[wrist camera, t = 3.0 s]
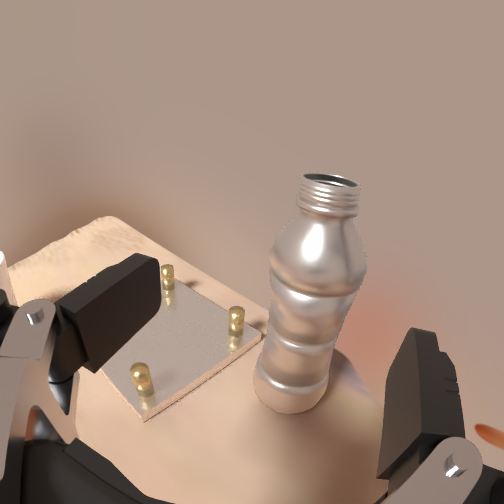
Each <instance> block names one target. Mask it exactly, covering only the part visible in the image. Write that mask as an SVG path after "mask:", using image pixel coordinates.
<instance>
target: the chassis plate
mask: <svg viewBox="0 0 504 504" xmlns="http://www.w3.org/2000/svg"><path fill="white" fill-rule="evenodd" d="M161 274H162V281H160V282H161V295H162V301H161V306H160V309H159V311H158V312H157V314H156V315H155V316H154V317H153V318H152V319H151V320H150V321H149V322H148V323H147V324H146V325H145V326H144V327H143V328H141V329H140V330H139V331H138V332H137V333H136V334H135V335H134V336H133V337H132V338H131V339H130V340H129V341H128V342H127V343H126V344H125V345H124V346H123V347H122V348H121V349H120V350H119V351H117V352H116V353H115V354H114V355H113V356H112V357H111V358H110V359H109V360H108V361H107V362H106V363H105V364H104V365H103V366H102V367H101V368H100V369H99V370H100V371H101V373H102V374H103V375H104V377H105V378H106V379H107V380H108V382H109V383H110V384H111V385H112V387H113V388H114V389H115V390H116V392H117V393H118V394H119V395H120V396H121V398H122V399H123V400H124V401H125V402H126V404H127V405H128V406H129V407H130V408H131V409H132V410H133V412H134V413H135V414H136V415H137V416H138V417H139V418H140V419H141V420H142V422H145V421H147V420H148V419H150V418H151V417H153V416H154V415H156V414H158V413H159V412H161V411H162V410H164V409H165V408H167V407H168V406H170V405H171V404H173V403H174V402H176V401H177V400H179V399H180V398H182V397H183V396H185V395H186V394H187V393H189V392H190V391H192V390H193V389H195V388H196V387H198V386H199V385H201V384H202V383H203V382H205V381H206V380H208V379H209V378H210V377H212V376H213V375H215V374H216V373H217V372H219V371H220V370H222V369H223V368H224V367H226V366H227V365H228V364H230V363H231V362H233V361H234V360H235V359H237V358H238V357H239V356H241V355H242V354H243V353H245V352H246V351H247V350H249V349H250V348H251V347H253V346H254V345H255V344H257V343H258V342H259V341H260V340H261V334H262V332H260V331H258V330H257V329H255V328H253V327H252V326H250V325H248V324H247V323H245V322H244V314H245V310H244V309H243V308H242V307H239V306H234V307H231V308H230V309H229V312H227V311H225V310H224V309H222V308H220V307H219V306H217V305H216V304H214V303H212V302H211V301H209V300H208V299H206V298H205V297H203V296H201V295H200V294H198V293H197V292H195V291H194V290H192V289H191V288H189V287H187V286H186V285H184V284H183V283H181V282H180V281H178V280H177V279H175V278H174V269H173V266H172V265H169V264H166V265H163V266H162V267H161Z"/></svg>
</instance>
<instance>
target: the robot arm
mask: <svg viewBox="0 0 504 504" xmlns="http://www.w3.org/2000/svg"><path fill="white" fill-rule="evenodd" d="M161 301H162V295H161V282H160V267H159V262H158V260H157V259H155V258H152V257H149V256H146V255H143V254H139V253H135V254H133V255H131V256H130V257H128V258H126V259H125V260H123V261H122V262H120V263H119V264H116V265H113V266H110V267H107V268H106V269H104V270H102V271H101V272H99V273H98V274H96V276H93V277H92V278H90V279H89V280H87V283H86V282H84V283H83V284H81V285H80V286H78V287H77V288H75V289H74V290H72V291H71V292H69V293H68V294H67V295H65V296H64V297H62V298H61V299H59V300H58V301H56V302H55V303H52V302H51V301H49V300H46V299H36V300H32V301H29V302H27V303H25V304H23V305H22V306H21V307H18V306H14V305H10V303H9V300H8V297H7V294H6V292H5V291H4V290H3V289H0V504H174V503H170V502H166V501H162V500H158V499H154V498H151V497H148V496H146V495H144V494H143V493H142V492H141V491H140V490H138V489H137V488H136V487H135V486H134V485H133V484H132V483H131V482H130V481H129V480H128V479H127V478H126V477H125V476H124V475H123V474H122V473H121V472H120V471H119V470H118V469H117V468H116V467H115V466H114V465H113V464H112V463H111V462H110V461H109V460H108V459H106V458H105V457H103V456H102V455H100V454H99V453H97V452H96V451H94V450H93V449H91V448H90V447H89V446H87V445H86V444H85V443H83V442H82V441H80V440H79V437H78V433H77V430H76V425H75V418H76V405H77V395H78V386H79V372H78V369H79V368H80V367H82V366H83V367H85V368H86V369H88V370H90V371H91V372H93V373H94V374H95V373H96V372H97V371H98V370H99V369H100V368H101V367H102V366H103V365H104V364H105V363H106V362H107V361H108V360H109V359H110V358H111V357H112V356H113V355H114V354H115V353H116V352H117V351H119V350H120V349H121V348H122V347H123V346H124V345H125V344H126V343H127V342H128V341H129V340H130V339H131V338H132V337H133V336H134V335H135V334H136V333H137V332H138V331H139V330H140V329H141V328H143V327H144V326H145V325H146V324H147V323H148V322H149V321H150V320H151V319H152V318H153V317H154V316H155V315H156V314H157V312H158V311H159V309H160V306H161ZM456 382H457V377H456V372H455V367H454V365H453V363H452V362H451V360H450V358H449V357H448V355H447V354H446V353H445V352H440V351H439V347H438V342H437V337H436V334H435V333H434V332H430V331H426V330H421V329H417V328H410V330H409V331H408V332H407V334H406V337H405V339H404V341H403V343H402V345H401V347H400V349H399V351H398V353H397V355H396V357H395V359H394V361H393V363H392V365H391V367H390V369H389V373H388V376H387V380H386V388H385V389H386V390H385V406H384V419H383V430H382V440H381V448H380V456H379V464H378V471H377V477H376V478H378V479H386V480H389V486H388V490H387V491H386V492H384V493H383V494H382V495H381V496H380V497H379V498H378V499H377V500H375V501H374V502H373V503H372V504H504V472H502V471H500V470H497V469H494V468H491V467H488V466H486V465H484V464H483V462H482V457H481V454H480V452H479V450H478V449H477V448H476V446H475V445H474V444H473V443H472V442H470V441H469V440H467V439H465V430H464V421H463V413H462V407H461V399H460V395H458V393H459V387H458V383H456Z"/></svg>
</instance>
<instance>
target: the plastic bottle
mask: <svg viewBox="0 0 504 504" xmlns="http://www.w3.org/2000/svg"><path fill="white" fill-rule="evenodd" d="M359 195H360V184H359V183H358V182H356V181H354V180H351V179H349V178H345V177H342V176H338V175H333V174H327V173H318V172H308V173H303V174H301V177H300V184H299V194H298V195H297V197H296V205H297V206H298V207H299V208H300V211H299V213H298V214H297V215H296V216H295V217H294V218H293V219H292V220H291V221H289V222H288V223H287V224H286V225H285V227H284V228H283V229H282V230H281V231H280V233H279V234H278V235H277V236H276V238H275V240H274V243H273V245H272V247H271V250H270V255H269V256H270V257H269V272H270V308H269V321H268V330H267V334H266V338H265V342H264V345H263V349H262V352H261V354H260V356H259V358H258V360H257V363H256V366H255V369H254V372H253V382H254V388H255V392H256V394H257V396H258V398H259V399H260V400H261V402H262V403H264V404H265V405H266V406H267V407H269V408H271V409H272V410H274V411H277V412H280V413H285V414H295V413H301V412H304V411H307V410H309V409H311V408H312V407H314V406H315V405H316V404H317V403H318V401H319V400H320V399H321V397H322V396H323V395H324V393H325V391H326V388H327V384H328V379H329V367H330V362H331V358H332V354H333V350H334V345H335V342H336V340H337V337H338V334H339V332H340V330H341V327H342V324H343V322H344V319H345V317H346V315H347V313H348V311H349V309H350V307H351V305H352V303H353V301H354V299H355V297H356V295H357V293H358V291H359V288H360V286H361V285H362V282H363V279H364V276H365V274H366V270H367V262H366V253H365V250H364V247H363V244H362V241H361V239H360V237H359V235H358V233H357V231H356V229H355V227H354V225H353V223H352V218H353V217H356V216H357V215H358V211H359V206H358V201H359Z"/></svg>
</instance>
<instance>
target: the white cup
mask: <svg viewBox="0 0 504 504" xmlns="http://www.w3.org/2000/svg"><path fill="white" fill-rule="evenodd" d="M0 289H3V290H4V291H5V292H6V294H7V297H8V300H9V303H10V305H14V306H18V305H17V301H16V298H15V294H14V291H13V287H12V284H11V280H10V276H9V273H8V269H7V265H6V261H5V257H4V254H3V252H1V251H0Z"/></svg>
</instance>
